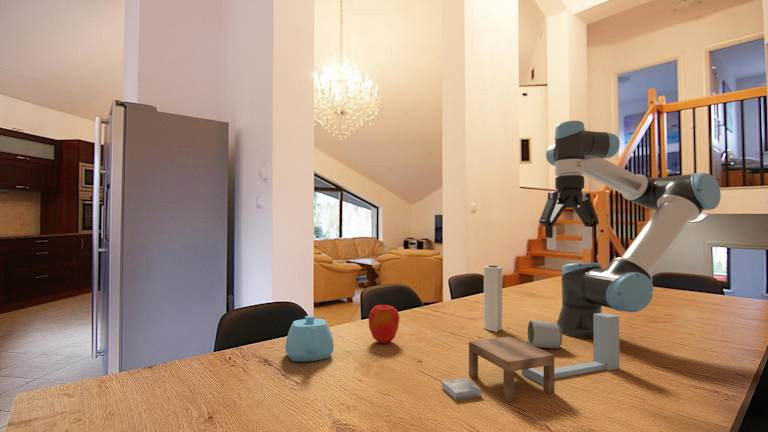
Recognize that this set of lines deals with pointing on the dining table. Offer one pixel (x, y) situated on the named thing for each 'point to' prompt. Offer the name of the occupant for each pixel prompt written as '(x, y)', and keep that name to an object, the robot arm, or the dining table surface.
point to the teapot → (309, 340)
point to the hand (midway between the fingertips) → (569, 249)
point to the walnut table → (511, 360)
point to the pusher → (603, 351)
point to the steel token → (461, 389)
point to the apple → (383, 323)
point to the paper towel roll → (493, 298)
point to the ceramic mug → (544, 334)
